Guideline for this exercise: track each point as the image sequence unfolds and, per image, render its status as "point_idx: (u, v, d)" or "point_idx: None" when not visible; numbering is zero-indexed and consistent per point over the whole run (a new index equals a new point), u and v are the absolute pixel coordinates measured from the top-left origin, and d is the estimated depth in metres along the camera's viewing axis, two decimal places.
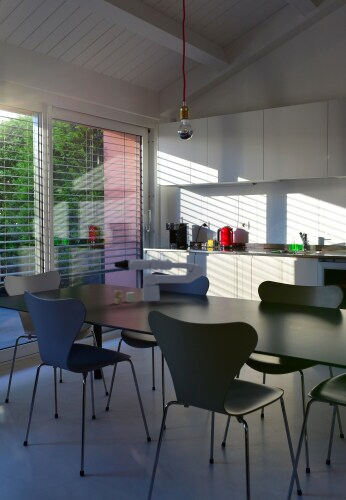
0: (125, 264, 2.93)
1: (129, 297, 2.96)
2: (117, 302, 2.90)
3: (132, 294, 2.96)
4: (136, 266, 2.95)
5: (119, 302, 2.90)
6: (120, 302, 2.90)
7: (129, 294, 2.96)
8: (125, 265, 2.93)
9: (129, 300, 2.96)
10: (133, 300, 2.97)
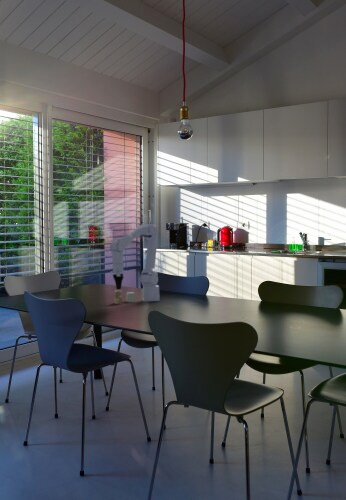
0: (117, 278, 2.77)
1: (129, 297, 2.96)
2: (117, 302, 2.90)
3: (132, 294, 2.96)
4: (119, 266, 2.78)
5: (119, 302, 2.90)
6: (120, 302, 2.90)
7: (129, 294, 2.96)
8: (118, 278, 2.77)
9: (129, 300, 2.96)
10: (133, 300, 2.97)
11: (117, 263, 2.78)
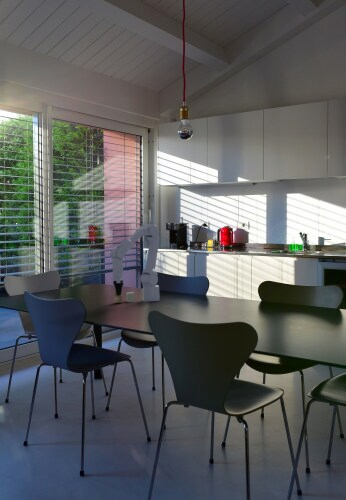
0: (117, 285, 2.82)
1: (129, 297, 2.96)
2: (117, 300, 2.90)
3: (132, 294, 2.96)
4: (119, 273, 2.83)
5: (119, 301, 2.90)
6: (120, 301, 2.91)
7: (129, 294, 2.96)
8: (118, 285, 2.82)
9: (129, 300, 2.96)
10: (133, 300, 2.97)
11: (117, 270, 2.83)
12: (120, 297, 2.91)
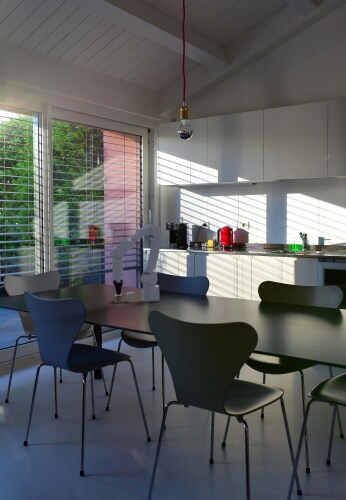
0: (117, 284, 2.85)
1: (129, 297, 2.96)
2: (117, 295, 2.95)
3: (132, 294, 2.96)
4: (119, 272, 2.86)
5: (119, 295, 2.95)
6: (120, 295, 2.95)
7: (129, 294, 2.96)
8: (118, 284, 2.85)
9: (129, 300, 2.96)
10: (133, 300, 2.97)
11: (117, 269, 2.86)
12: (120, 294, 2.97)
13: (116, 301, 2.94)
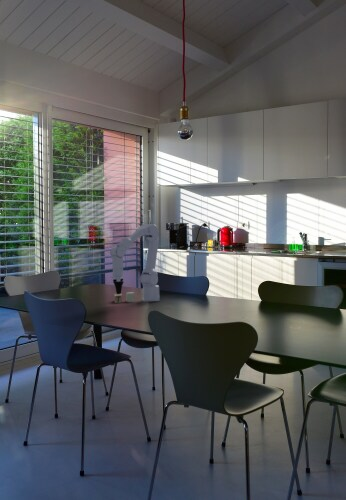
0: (117, 283, 2.81)
1: (129, 297, 2.96)
2: (117, 295, 2.95)
3: (132, 294, 2.96)
4: (119, 271, 2.82)
5: (119, 295, 2.95)
6: (120, 295, 2.95)
7: (129, 294, 2.96)
8: (118, 283, 2.81)
9: (129, 300, 2.96)
10: (133, 300, 2.97)
11: (117, 268, 2.82)
12: (120, 294, 2.97)
13: (116, 301, 2.94)
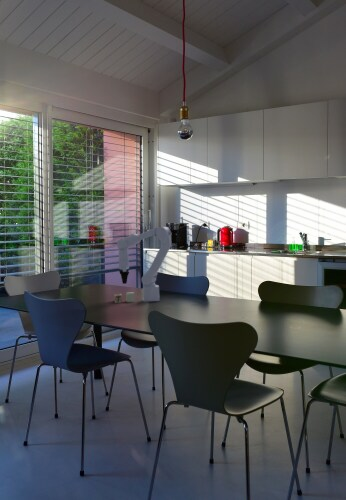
0: (123, 273, 2.99)
1: (129, 297, 2.96)
2: (117, 295, 2.95)
3: (132, 294, 2.96)
4: (125, 262, 3.01)
5: (119, 295, 2.95)
6: (120, 295, 2.95)
7: (129, 294, 2.96)
8: (124, 273, 2.99)
9: (129, 300, 2.96)
10: (133, 300, 2.97)
11: (123, 259, 3.00)
12: (120, 294, 2.97)
13: (116, 301, 2.94)
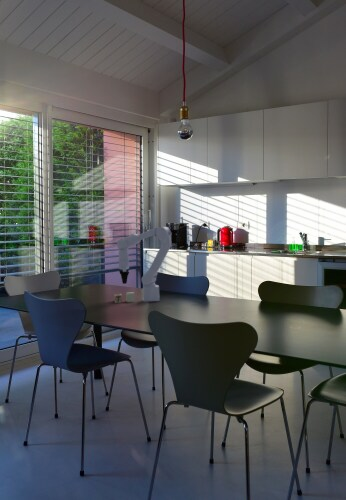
0: (123, 273, 2.99)
1: (129, 297, 2.96)
2: (117, 295, 2.95)
3: (132, 294, 2.96)
4: (125, 262, 3.01)
5: (119, 295, 2.95)
6: (120, 295, 2.95)
7: (129, 294, 2.96)
8: (124, 273, 2.99)
9: (129, 300, 2.96)
10: (133, 300, 2.97)
11: (123, 259, 3.00)
12: (120, 294, 2.97)
13: (116, 301, 2.94)
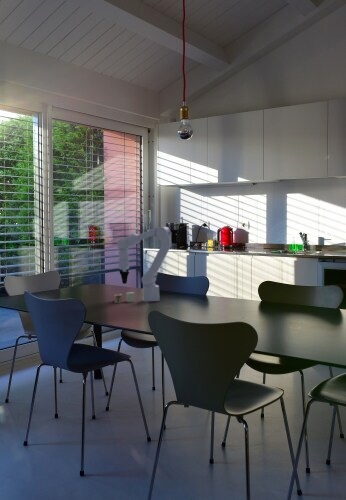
0: (123, 273, 2.99)
1: (129, 297, 2.96)
2: (117, 295, 2.95)
3: (132, 294, 2.96)
4: (125, 262, 3.01)
5: (119, 295, 2.95)
6: (120, 295, 2.95)
7: (129, 294, 2.96)
8: (124, 273, 2.99)
9: (129, 300, 2.96)
10: (133, 300, 2.97)
11: (123, 259, 3.00)
12: (120, 294, 2.97)
13: (116, 301, 2.94)
